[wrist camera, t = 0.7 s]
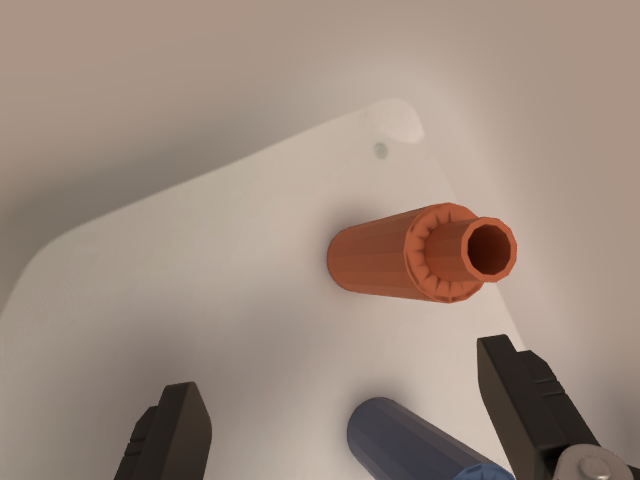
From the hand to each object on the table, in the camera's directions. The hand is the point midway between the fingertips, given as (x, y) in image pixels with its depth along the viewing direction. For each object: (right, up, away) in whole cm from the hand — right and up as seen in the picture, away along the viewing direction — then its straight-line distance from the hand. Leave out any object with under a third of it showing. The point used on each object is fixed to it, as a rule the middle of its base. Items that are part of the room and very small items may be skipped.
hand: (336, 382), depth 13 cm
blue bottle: (+4, -9, +20) cm, 22 cm away
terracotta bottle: (+2, +3, +20) cm, 20 cm away
